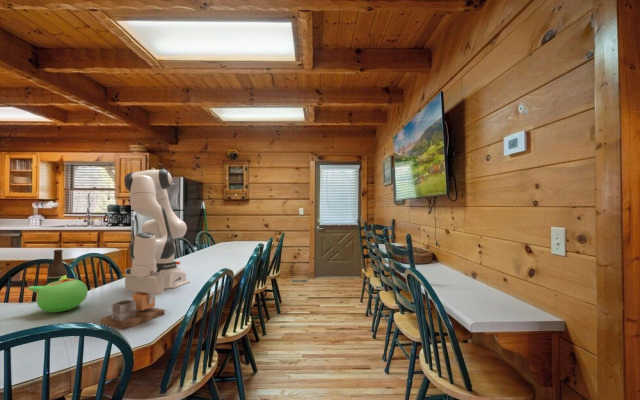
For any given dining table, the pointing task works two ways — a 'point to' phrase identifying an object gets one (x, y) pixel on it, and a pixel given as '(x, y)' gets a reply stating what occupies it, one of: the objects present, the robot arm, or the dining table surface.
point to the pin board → (129, 315)
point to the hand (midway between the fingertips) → (144, 302)
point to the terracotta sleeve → (142, 301)
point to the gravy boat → (60, 294)
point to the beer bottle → (56, 267)
